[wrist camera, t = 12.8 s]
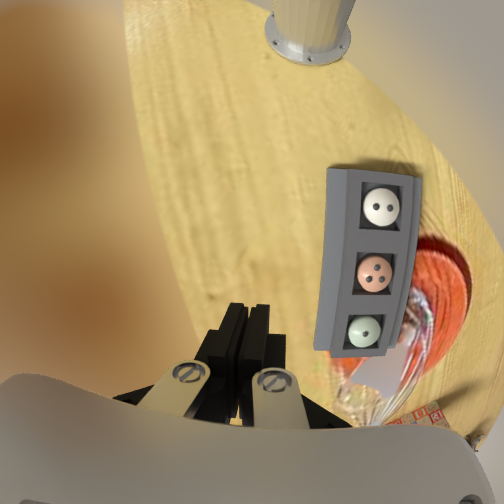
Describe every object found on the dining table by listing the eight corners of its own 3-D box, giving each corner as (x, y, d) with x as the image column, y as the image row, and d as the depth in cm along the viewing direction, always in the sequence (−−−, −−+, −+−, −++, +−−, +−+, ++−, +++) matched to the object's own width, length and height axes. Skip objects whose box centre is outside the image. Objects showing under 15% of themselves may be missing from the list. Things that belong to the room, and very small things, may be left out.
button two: (362, 186, 33) (367, 186, 31) (394, 189, 32) (400, 190, 30) (360, 222, 34) (364, 225, 32) (392, 224, 34) (398, 227, 32)
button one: (349, 313, 37) (352, 320, 35) (379, 312, 37) (383, 319, 35) (344, 340, 39) (347, 348, 37) (373, 339, 38) (377, 347, 36)
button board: (326, 168, 35) (331, 167, 31) (417, 178, 33) (428, 178, 30) (313, 345, 41) (314, 357, 38) (392, 343, 40) (398, 354, 37)
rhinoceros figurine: (444, 468, 47) (464, 482, 33) (443, 437, 52) (465, 447, 39) (462, 457, 46) (484, 468, 33) (461, 426, 52) (485, 434, 38)
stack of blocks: (354, 449, 48) (361, 489, 36) (348, 437, 47) (355, 480, 35) (436, 413, 44) (453, 448, 32) (436, 399, 43) (455, 436, 31)
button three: (357, 253, 35) (361, 257, 33) (389, 254, 35) (394, 258, 33) (353, 286, 36) (357, 292, 34) (384, 286, 36) (389, 292, 34)
